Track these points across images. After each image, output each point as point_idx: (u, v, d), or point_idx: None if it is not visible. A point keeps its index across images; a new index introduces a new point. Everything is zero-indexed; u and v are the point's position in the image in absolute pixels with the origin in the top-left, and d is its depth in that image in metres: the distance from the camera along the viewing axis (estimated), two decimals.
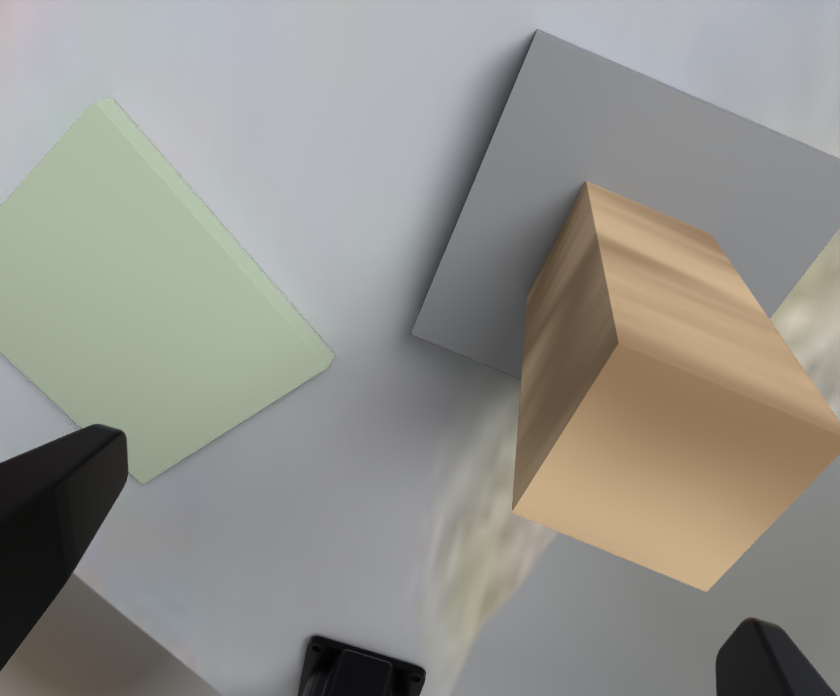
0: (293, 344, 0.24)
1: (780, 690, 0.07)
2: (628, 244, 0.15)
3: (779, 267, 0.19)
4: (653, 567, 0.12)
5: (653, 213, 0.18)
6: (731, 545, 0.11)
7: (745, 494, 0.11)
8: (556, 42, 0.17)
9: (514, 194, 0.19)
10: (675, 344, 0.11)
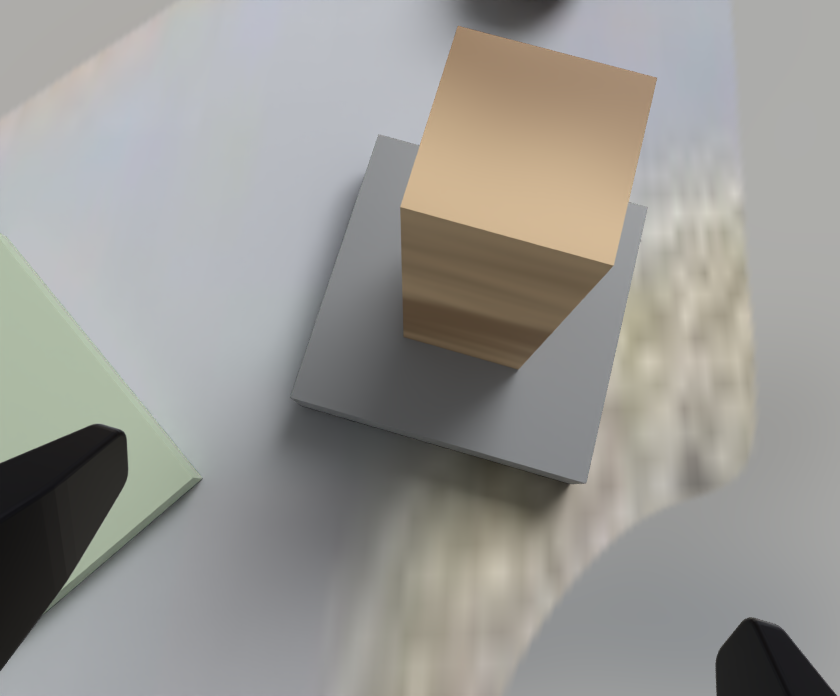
0: (154, 453, 0.21)
1: (780, 690, 0.07)
2: None
3: (609, 281, 0.22)
4: (554, 251, 0.12)
5: None
6: (613, 201, 0.12)
7: (601, 142, 0.12)
8: (394, 139, 0.23)
9: (378, 247, 0.22)
10: None
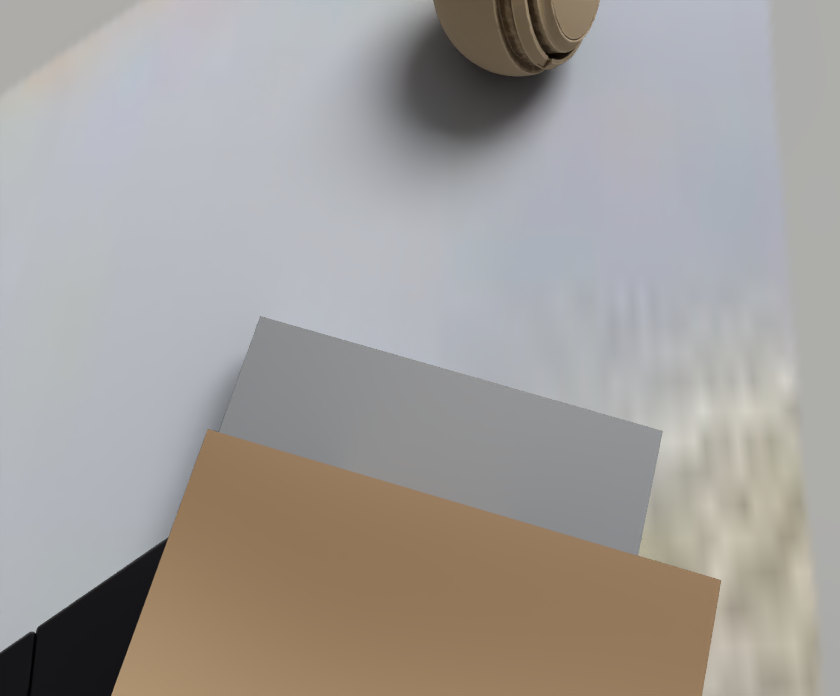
0: None
1: None
2: None
3: None
4: None
5: None
6: None
7: None
8: (283, 324, 0.15)
9: None
10: None
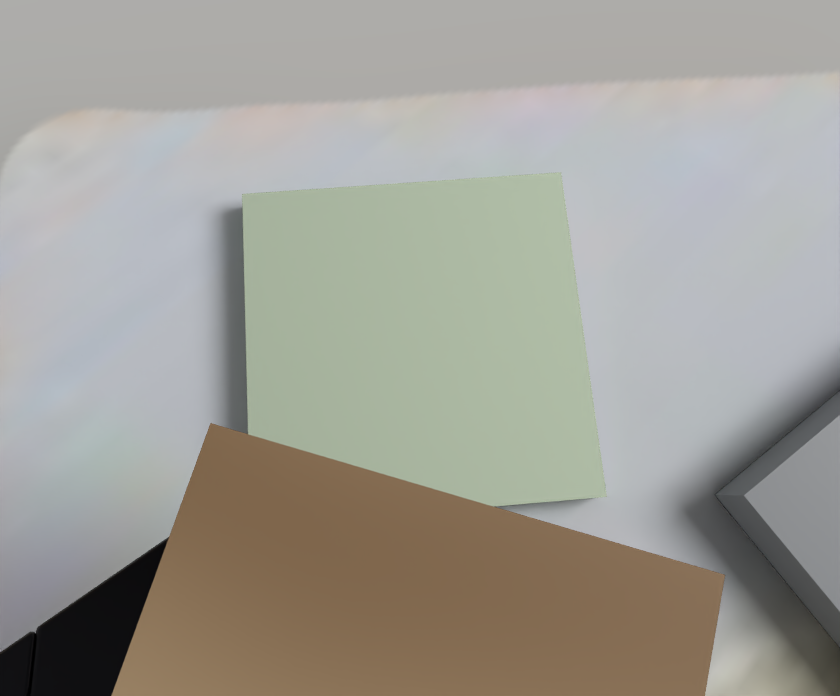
0: (586, 453, 0.22)
1: None
2: None
3: None
4: None
5: None
6: None
7: None
8: None
9: None
10: None
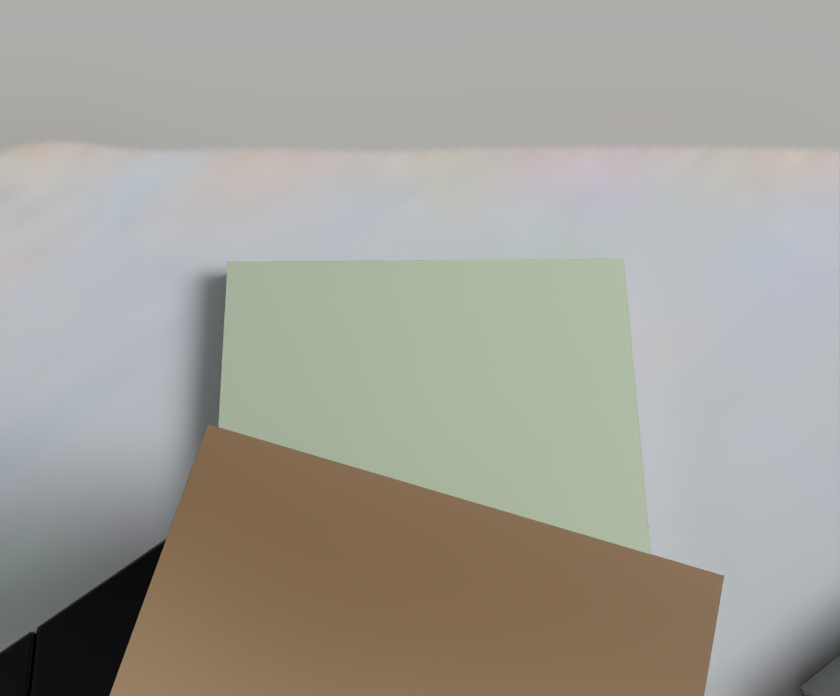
0: None
1: None
2: None
3: None
4: None
5: None
6: None
7: None
8: None
9: None
10: None
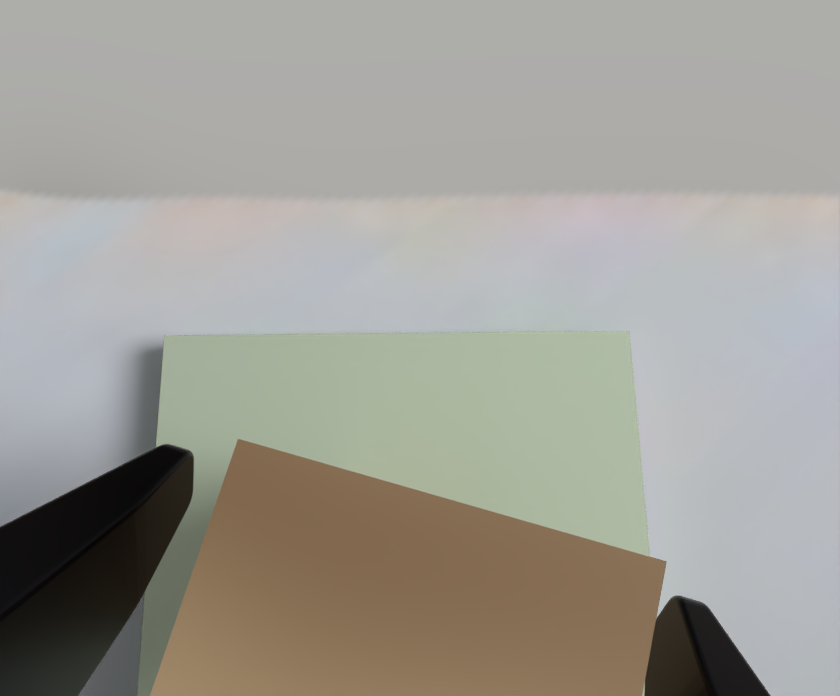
0: None
1: (696, 665, 0.07)
2: None
3: None
4: None
5: None
6: None
7: None
8: None
9: None
10: None
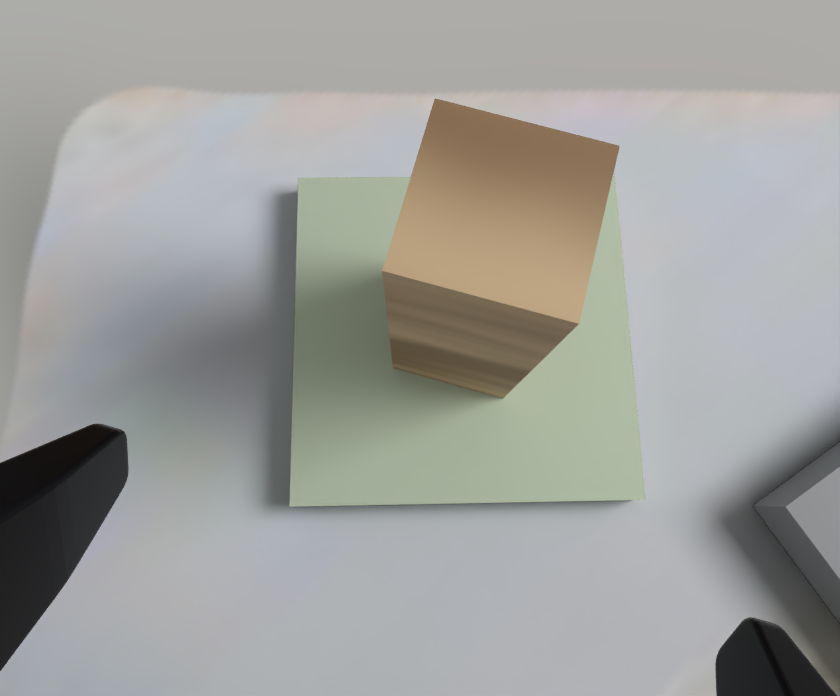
0: (627, 455, 0.22)
1: (780, 690, 0.07)
2: None
3: None
4: (525, 310, 0.12)
5: None
6: (578, 263, 0.13)
7: (568, 208, 0.13)
8: None
9: None
10: None
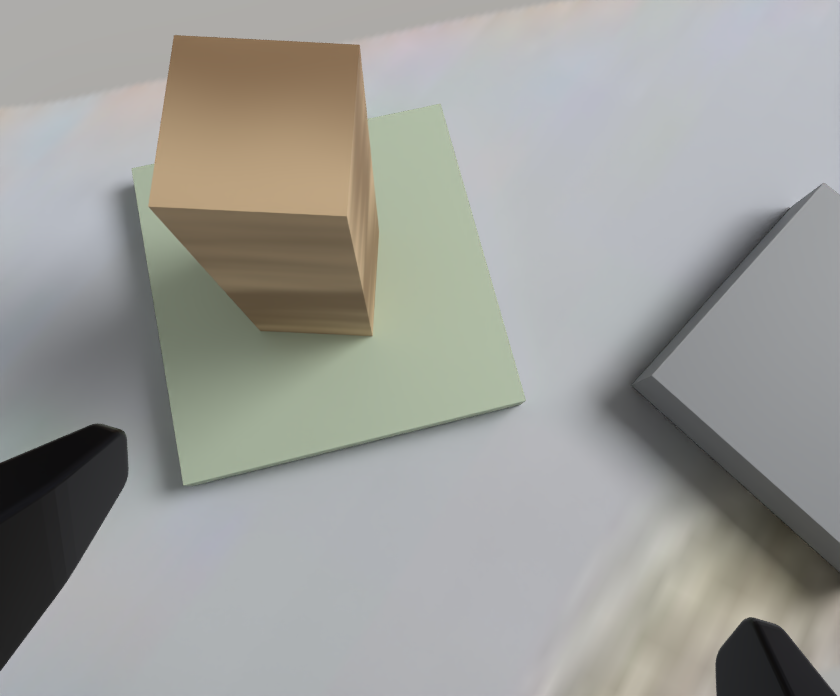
0: (501, 362, 0.22)
1: (780, 690, 0.07)
2: None
3: None
4: (294, 215, 0.13)
5: None
6: (337, 160, 0.13)
7: (319, 112, 0.13)
8: (836, 193, 0.23)
9: (783, 283, 0.22)
10: None
